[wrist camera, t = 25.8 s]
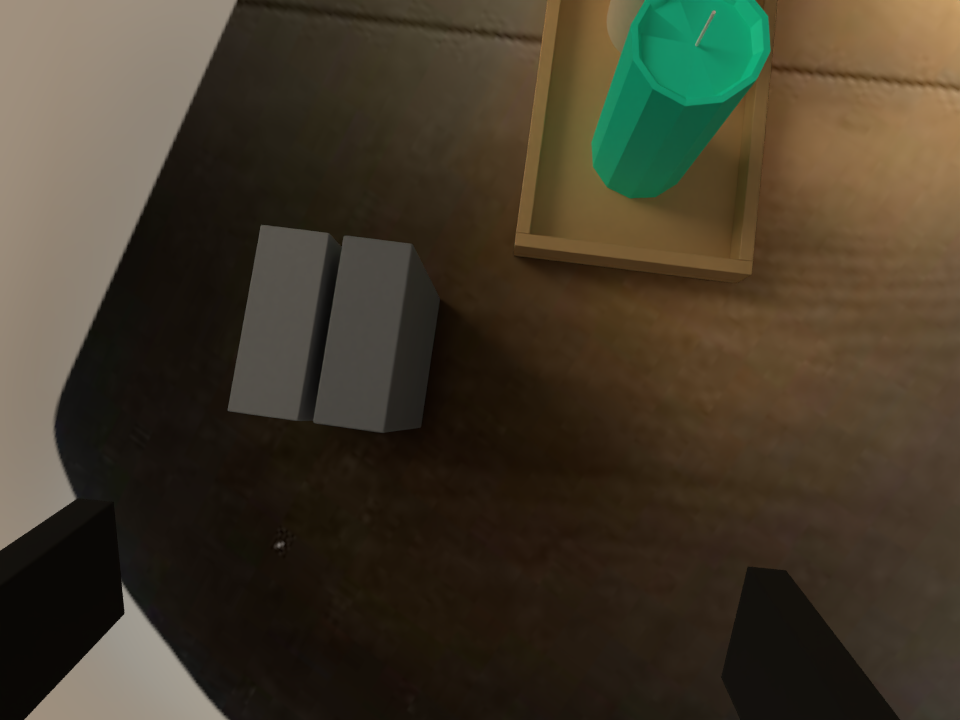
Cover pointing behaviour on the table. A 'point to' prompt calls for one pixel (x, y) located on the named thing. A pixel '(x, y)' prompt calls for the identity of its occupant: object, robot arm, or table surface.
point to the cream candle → (621, 20)
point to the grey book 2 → (378, 339)
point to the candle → (676, 89)
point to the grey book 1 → (285, 324)
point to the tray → (608, 214)
